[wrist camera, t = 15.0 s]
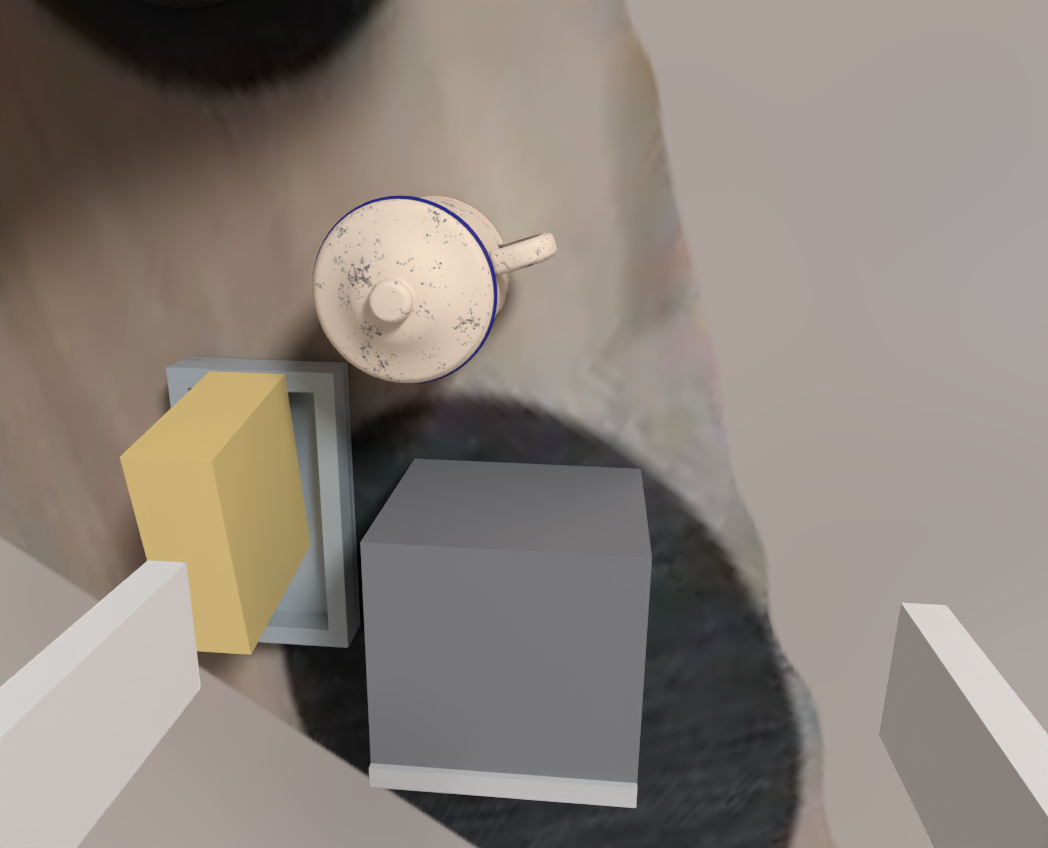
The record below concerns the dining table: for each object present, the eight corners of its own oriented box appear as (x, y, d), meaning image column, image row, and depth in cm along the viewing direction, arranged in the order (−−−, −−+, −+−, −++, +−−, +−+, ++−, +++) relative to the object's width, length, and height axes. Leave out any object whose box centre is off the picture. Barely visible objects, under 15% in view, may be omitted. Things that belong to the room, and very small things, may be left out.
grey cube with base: (414, 458, 52) (357, 545, 40) (640, 468, 51) (652, 561, 39) (419, 654, 56) (369, 787, 44) (628, 668, 55) (635, 807, 43)
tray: (188, 356, 51) (165, 367, 49) (347, 362, 50) (333, 373, 48) (216, 615, 57) (197, 638, 54) (360, 624, 56) (347, 647, 53)
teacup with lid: (390, 366, 50) (330, 422, 39) (338, 218, 48) (259, 233, 37) (582, 311, 48) (575, 354, 37) (537, 154, 46) (516, 149, 35)
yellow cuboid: (209, 371, 48) (119, 457, 39) (285, 373, 48) (211, 461, 39) (242, 540, 54) (170, 649, 45) (310, 544, 53) (251, 654, 45)
